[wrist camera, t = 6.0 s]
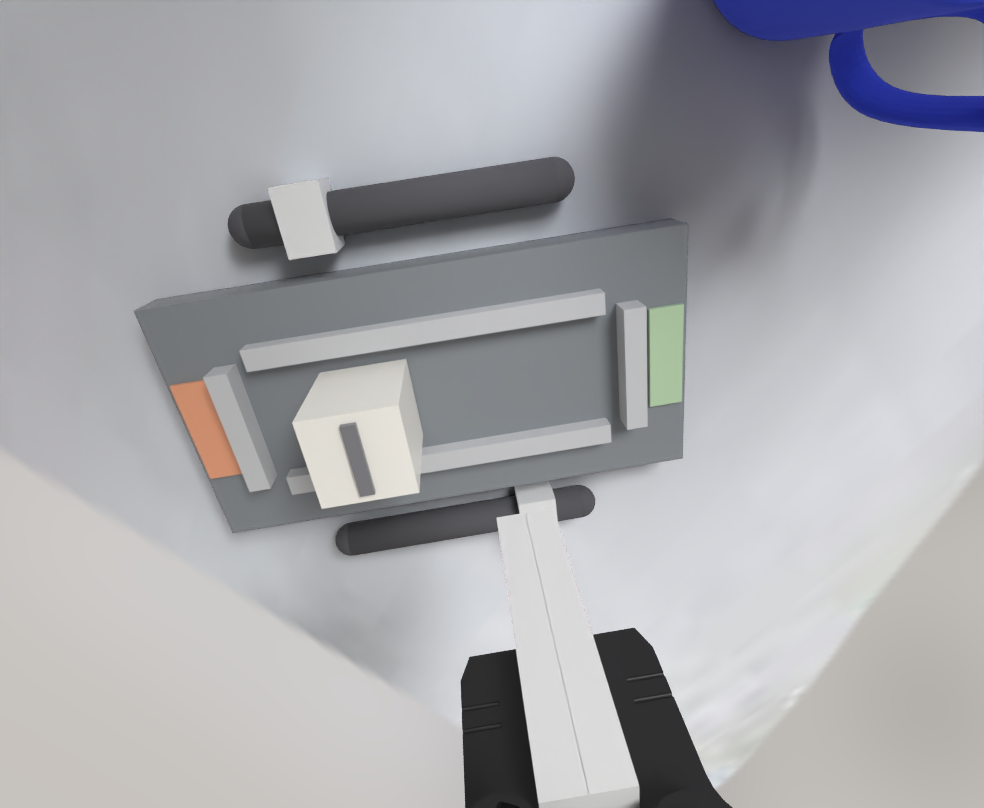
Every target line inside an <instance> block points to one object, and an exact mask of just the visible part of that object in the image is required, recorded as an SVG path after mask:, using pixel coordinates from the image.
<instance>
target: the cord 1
mask: <svg viewBox="0 0 984 808" xmlns="http://www.w3.org/2000/svg"><path fill="white" fill-rule="evenodd" d="M574 179H575V178H574V172H573V169H572V167H571V166H570V164H569V163H568V162H567V161H565V160H564V159H562V158H559V157H549V158H542V159H536V160H529V161H523V162H516V163H510V164H503V165H497V166H490V167H484V168H477V169H471V170H465V171H458V172H452V173H445V174H439V175H432V176H426V177H419V178H413V179H406V180H400V181H393V182H387V183H380V184H374V185H367V186H361V187H354V188H348V189H341V190H335V191H332V189H331V185H330V181H329V178H324V179H318V180H311V181H305V182H298V183H292V184H285V185H279V186H274V187H269V188H267V189H268V193H269V196H270V199H271V200H270V201H263V202H257V203H250V204H244V205H240V206H238V207H237V208H235V209H234V210H233V211H232V212H231V214H230V216H229V219H228V229H229V232H230V234H231V236H232V237H233V239H234V240H235V241H236V242H237V243H239V244H240V245H242V246H244V247H247V248H251V249H259V248H265V247H271V246H278V245H284V246H285V249H286V252H287V256H288V259H289V260H293V259H299V258H306V257H312V256H318V255H325V254H331V253H337V252H338V251H339V250H340V249H341V248H342V247H343V246H344V245H345V241H344V237H343V235H348V234H355V233H361V232H368V231H374V230H381V229H387V228H393V227H400V226H406V225H413V224H419V223H425V222H432V221H438V220H445V219H451V218H458V217H464V216H470V215H477V214H483V213H490V212H496V211H503V210H509V209H515V208H522V207H528V206H535V205H541V204H547V203H554V202H558V201H561V200H563V199H564V198H566V197H567V196H568V195H569V194H570V192H571V190H572V188H573V185H574Z"/></svg>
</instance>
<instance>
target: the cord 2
mask: <svg viewBox="0 0 984 808" xmlns="http://www.w3.org/2000/svg"><path fill="white" fill-rule="evenodd" d="M514 489H515V496H509V497H503V498H497V499H491V500H485V501H479V502H473V503H467V504H461V505H455V506H449V507H443V508H437V509H431V510H425V511H419V512H413V513H407V514H401V515H395V516H389V517H383V518H377V519H371V520H365V521H359V522H353V523H348V524H346V525H344V526H343V527H341V528H340V529H339V531H338V533H337V535H336V545H337V547H338V549H339V550H340V551H341V552H342V553H343V554H345V555H350V556H352V555H359V554H365V553H371V552H377V551H383V550H389V549H395V548H401V547H407V546H413V545H419V544H425V543H431V542H437V541H443V540H449V539H455V538H461V537H467V536H473V535H479V534H485V533H490V532H496V531H498V525H497V519H496V518H497V517H503V516H509V515H515V514H521V513H527V512H533V511H539V510H545V509H551V508H554V510H555V514H556V517H557V520H558V521H562V520H568V519H574V518H580V517H584V516H587V515H589V514H590V513H591V512H592V510H593V509H594V506H595V497H594V495H593V493H592V492H591V490H590V489H588V488H587V487H585V486H582V485H575V486H569V487H563V488H557V489H552V487H551V484H550V481H543V482H537V483H531V484H525V485H519V486H514Z"/></svg>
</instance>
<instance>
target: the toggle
mask: <svg viewBox="0 0 984 808" xmlns="http://www.w3.org/2000/svg"><path fill="white" fill-rule="evenodd" d="M292 424H293V427H294V430H295V433H296V436H297V438H298V441H299V444H300V447H301V450H302V453H303V456H304V459H305V462H306V465H307V467H308V470H309V473H310V476H311V479H312V482H313V485H314V488H315V491H316V494H317V497H318V499H319V502H320V505H321V508H322V509H325V508H331V507H337V506H343V505H349V504H355V503H361V502H367V501H373V500H379V499H385V498H391V497H397V496H403V495H409V494H415V493H419V491H420V475H421V459H422V444H423V431H422V427H421V422H420V418H419V414H418V409H417V405H416V400H415V396H414V391H413V387H412V382H411V378H410V373H409V369H408V364H407V360H406V359H402V360H395V361H389V362H383V363H377V364H370V365H364V366H358V367H352V368H345V369H339V370H333V371H327V372H321V373H319V375H318V377H317V379H316V380H315V382H314V384H313V386H312V388H311V389H310V391H309V393H308V395H307V397H306V398H305V400H304V402H303V404H302V406H301V407H300V409H299V411H298V413H297V415H296V417H295V418H294V420H293V422H292Z"/></svg>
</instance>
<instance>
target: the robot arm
mask: <svg viewBox="0 0 984 808" xmlns="http://www.w3.org/2000/svg"><path fill="white" fill-rule="evenodd" d="M496 519H497V525H498V532H499V539H500V546H501V552H502V559H503V566H504V573H505V580H506V586H507V593H508V600H509V607H510V614H511V620H512V627H513V634H514V641H515V647H516V649H514V650H508V651H502V652H496V653H490V654H484V655H479V656H473V657H469V660H468V663H467V666H466V668H465V671H464V674H463V676H462V679H461V701H462V729H463V755H464V782H465V808H732V807H731V806H730V805H729V804H727V803H726V802H725V801H724V800H723V799H722V798H721V796H720V795H719V794H718V793H717V792H716V790H715V789H714V788H713V786H712V784H711V782H710V781H709V779H708V777H707V775H706V773H705V771H704V768H703V766H702V763H701V761H700V759H699V756H698V754H697V751H696V749H695V747H694V744H693V742H692V740H691V737H690V735H689V732H688V730H687V728H686V725H685V723H684V720H683V718H682V716H681V713H680V711H679V708H678V706H677V704H676V701H675V699H674V697H673V696H672V692H671V689H670V687H669V685H668V682H667V680H666V677H664V674H663V670H662V668H661V665H660V663H659V661H658V658H657V656H656V654H655V651H654V649H653V647H652V646H651V645H650V644H649V643H648V642H647V641H646V639H645V638H644V637H643V636H642V635H641V634H640V633H639V632H638V631H637V630H636V629H635V628H630V629H624V630H618V631H612V632H606V633H601V634H595V635H593V634H592V630H591V627H590V624H589V621H588V617H587V614H586V611H585V608H584V604H583V601H582V598H581V595H580V592H579V588H578V585H577V582H576V579H575V575H574V572H573V569H572V566H571V562H570V559H569V556H568V553H567V549H566V546H565V543H564V540H563V536H562V533H561V530H560V527H559V523H558V520H557V517H556V514H555V510H554V508H551V509H545V510H539V511H533V512H527V513H521V514H515V515H509V516H503V517H497V518H496Z"/></svg>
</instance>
